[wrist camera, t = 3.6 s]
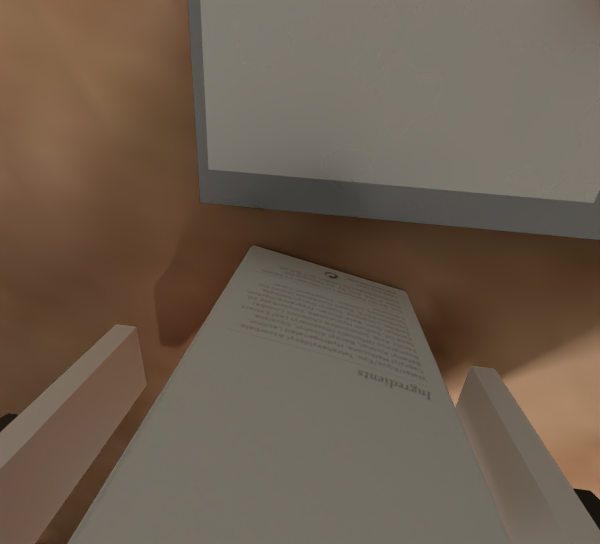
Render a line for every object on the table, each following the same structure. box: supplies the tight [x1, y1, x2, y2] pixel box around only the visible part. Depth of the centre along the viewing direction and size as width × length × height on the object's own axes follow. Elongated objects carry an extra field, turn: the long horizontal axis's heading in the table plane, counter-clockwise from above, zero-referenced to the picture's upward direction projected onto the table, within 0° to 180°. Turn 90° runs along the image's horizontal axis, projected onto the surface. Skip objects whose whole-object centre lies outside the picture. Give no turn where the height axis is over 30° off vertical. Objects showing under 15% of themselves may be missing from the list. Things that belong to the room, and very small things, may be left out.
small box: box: [67, 245, 512, 544], centre depth 8 cm, size 8×6×10 cm
